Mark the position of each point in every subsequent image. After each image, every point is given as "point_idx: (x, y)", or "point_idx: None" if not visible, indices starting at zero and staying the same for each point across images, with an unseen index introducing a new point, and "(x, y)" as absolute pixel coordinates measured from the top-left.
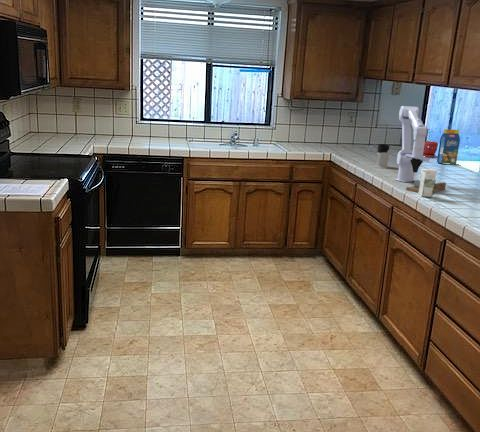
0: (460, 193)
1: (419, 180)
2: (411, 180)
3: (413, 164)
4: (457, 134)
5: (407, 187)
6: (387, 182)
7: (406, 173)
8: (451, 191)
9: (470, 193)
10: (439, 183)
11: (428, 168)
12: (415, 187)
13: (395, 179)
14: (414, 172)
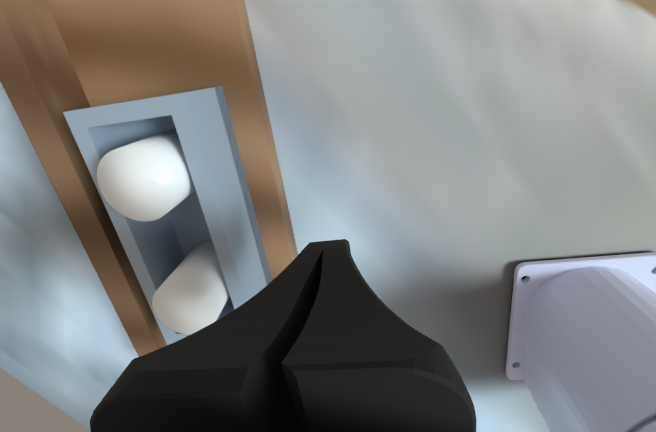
0: (68, 344)
1: (164, 146)
2: (512, 347)
3: (321, 309)
4: None
5: None
6: (640, 64)
7: (578, 346)
8: (129, 339)
9: (70, 394)
10: (127, 319)
11: None
12: (193, 76)
13: (646, 254)
14: (316, 242)
